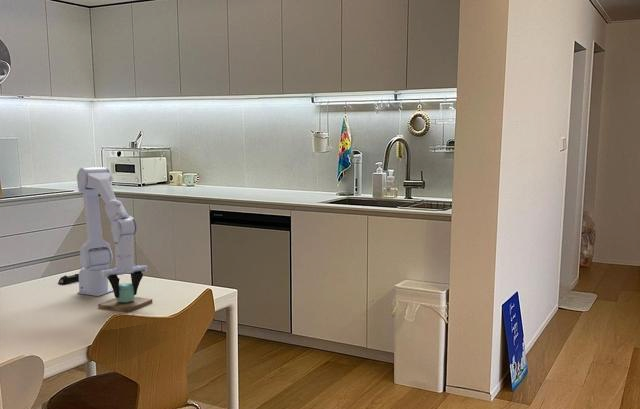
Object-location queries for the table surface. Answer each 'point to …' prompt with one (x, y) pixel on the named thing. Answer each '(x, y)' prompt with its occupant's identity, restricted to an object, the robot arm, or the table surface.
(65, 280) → the electric trimmer
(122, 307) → the post board
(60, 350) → the table surface
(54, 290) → the table surface
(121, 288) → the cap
